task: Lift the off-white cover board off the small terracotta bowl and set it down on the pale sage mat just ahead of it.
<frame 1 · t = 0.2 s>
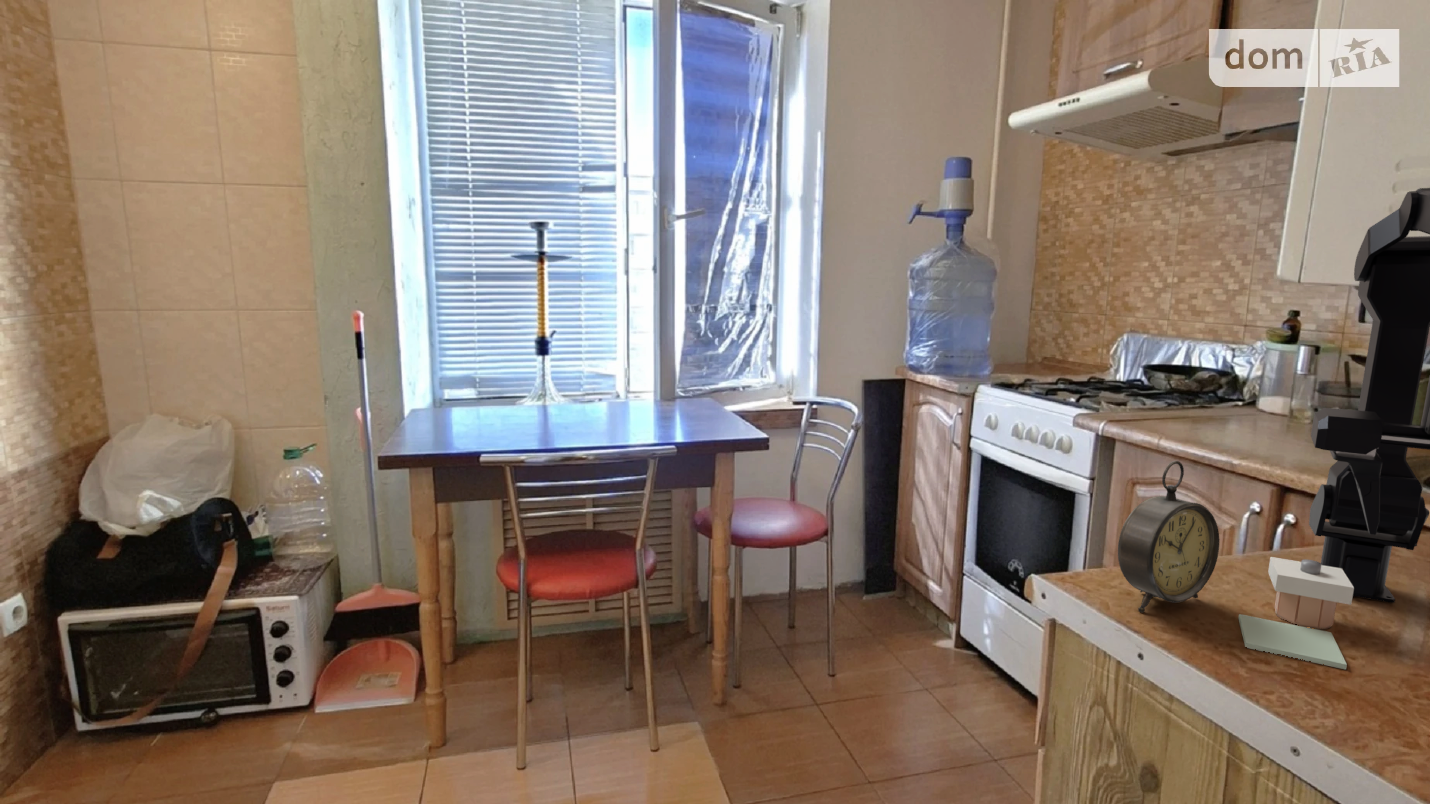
alarm clock: (1158, 603, 79), on the worktop
bowl: (1302, 618, 75), on the worktop
cover: (1307, 587, 74), point 3 cm above the worktop, touching bowl
mat: (1288, 642, 70), on the worktop
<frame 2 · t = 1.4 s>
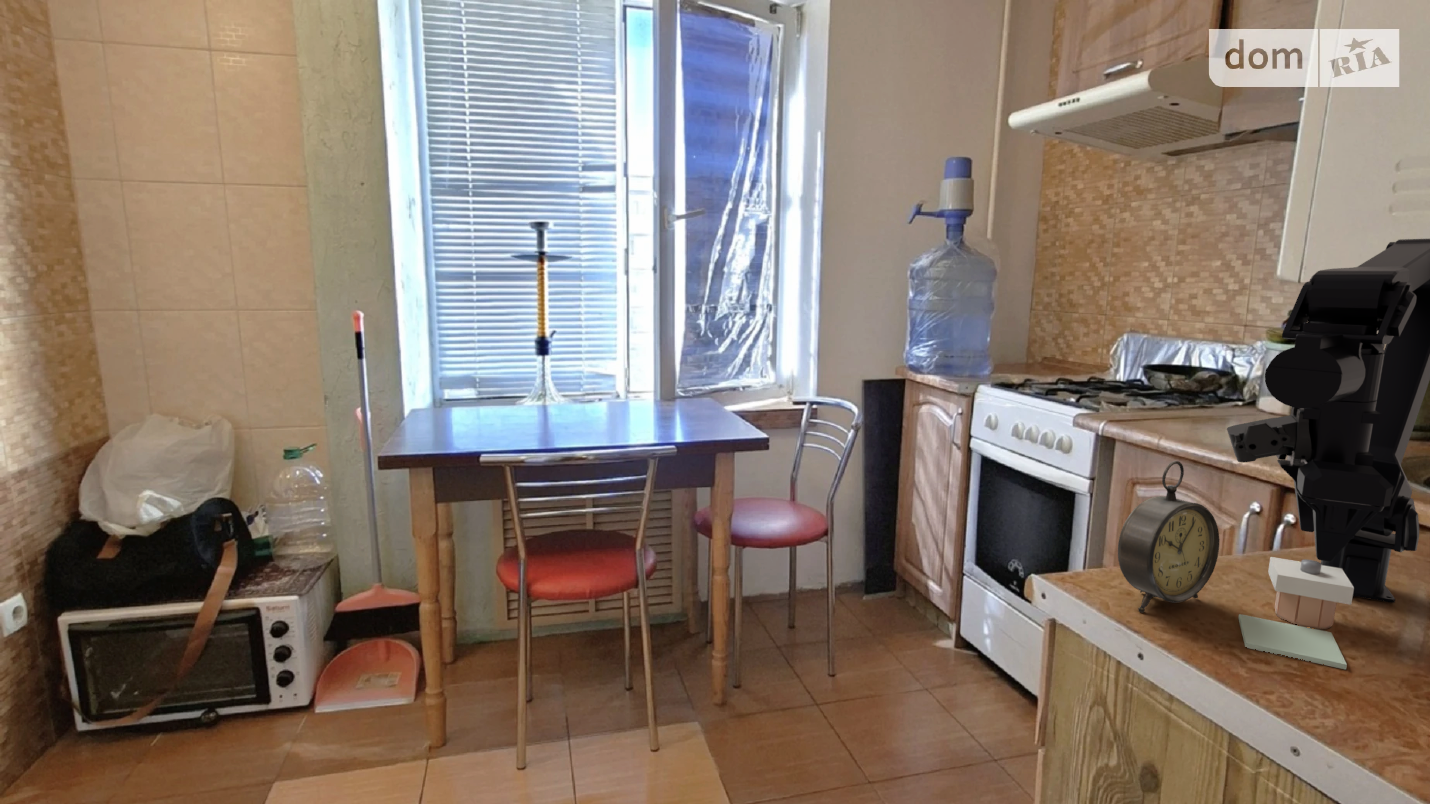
hand: (1314, 544, 73), 8 cm above the worktop, tool pointing down, fingers open, 9 cm apart
nothing on the worktop moved.
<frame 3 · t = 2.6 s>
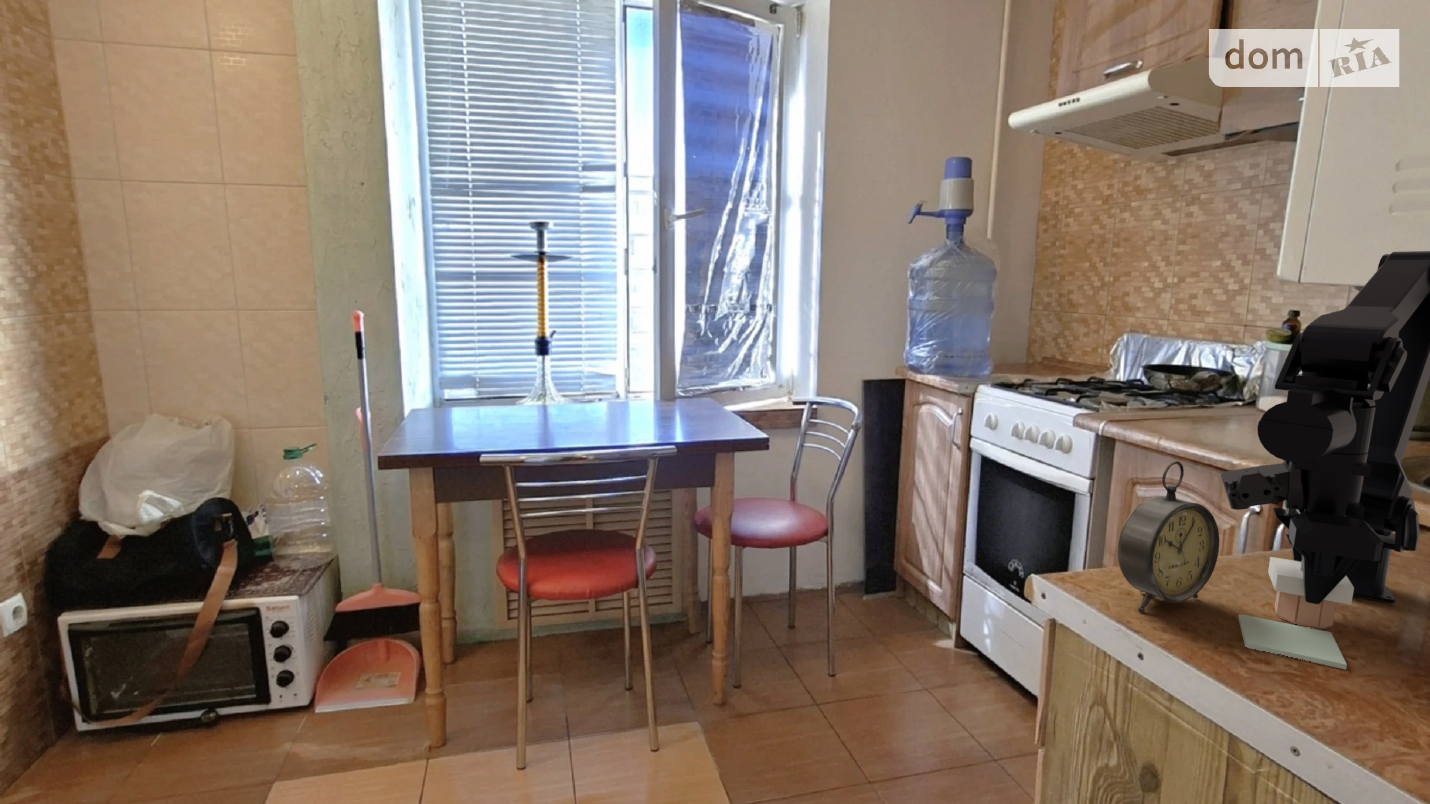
hand: (1306, 591, 74), 3 cm above the worktop, tool pointing down, fingers closed on cover, 5 cm apart
cover: (1307, 587, 74), point 4 cm above the worktop, touching bowl, gripper
everything else where it was.
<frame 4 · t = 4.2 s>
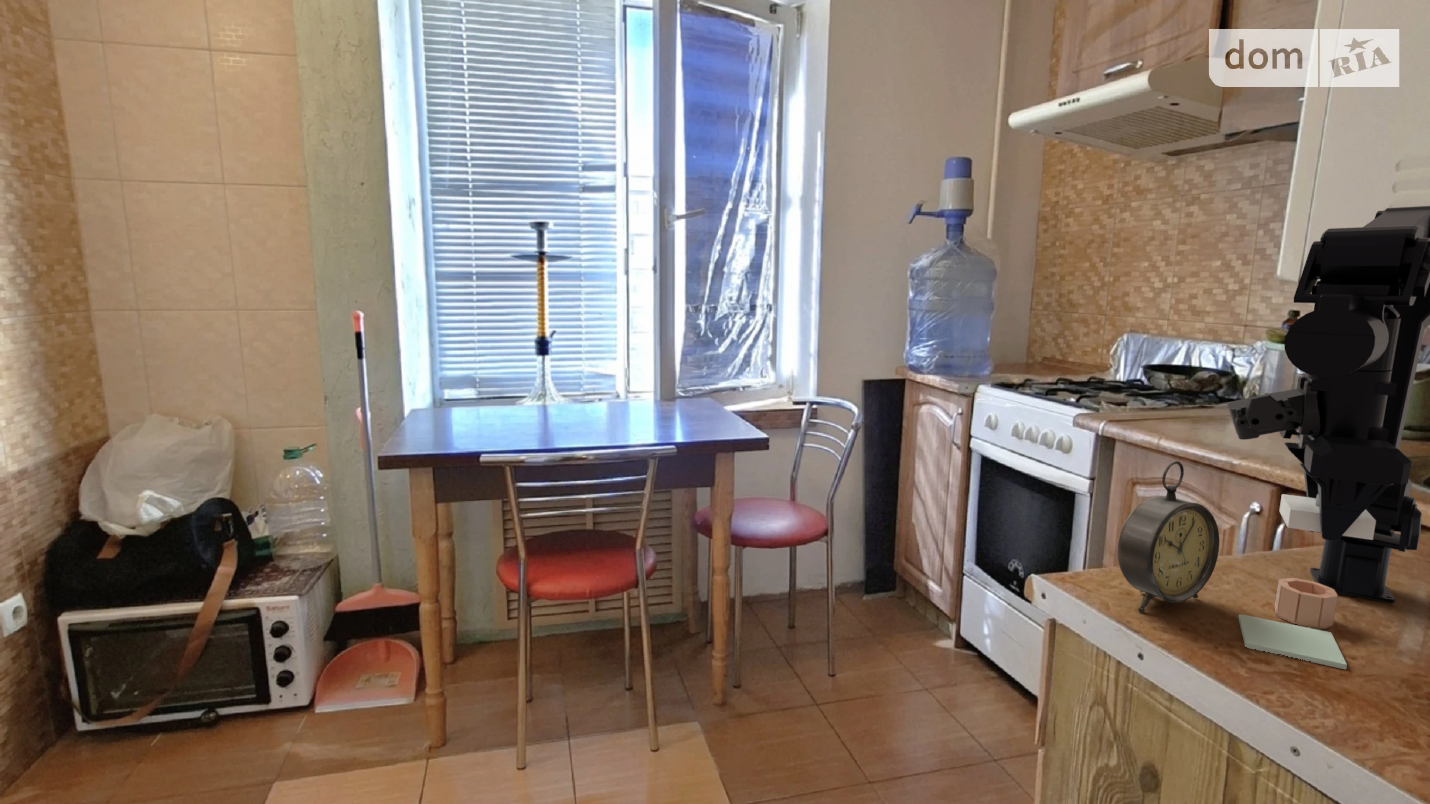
hand: (1323, 529, 67), 12 cm above the worktop, tool pointing down, fingers closed on cover, 5 cm apart
cover: (1323, 524, 67), point 12 cm above the worktop, touching gripper
everything else where it was.
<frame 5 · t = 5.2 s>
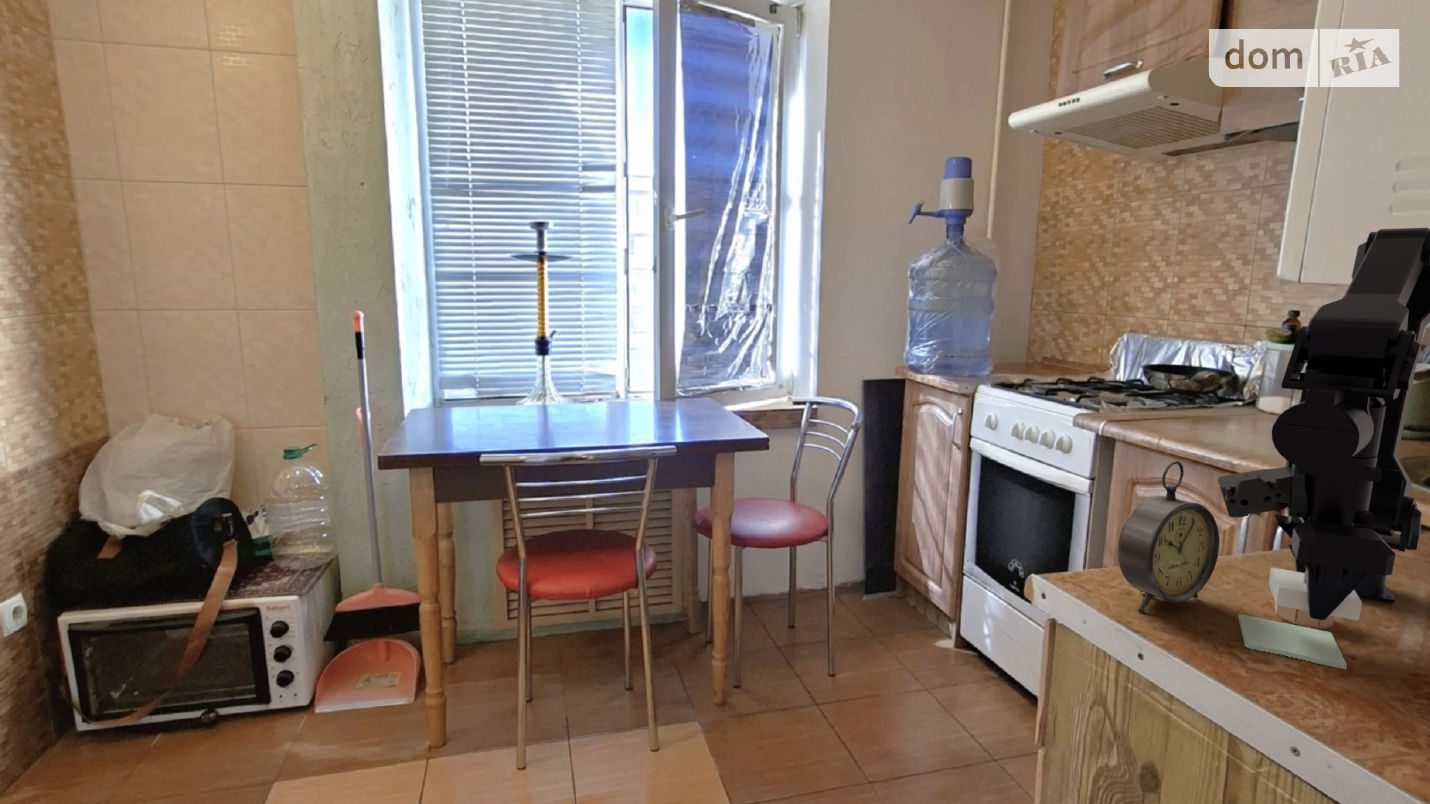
hand: (1311, 606, 69), 4 cm above the worktop, tool pointing down, fingers closed on cover, 5 cm apart
cover: (1311, 601, 69), point 5 cm above the worktop, touching gripper
everything else where it was.
when the fingers open (2 cm above the worktop, at t = 6.0 s): cover drops 2 cm, resting on mat.
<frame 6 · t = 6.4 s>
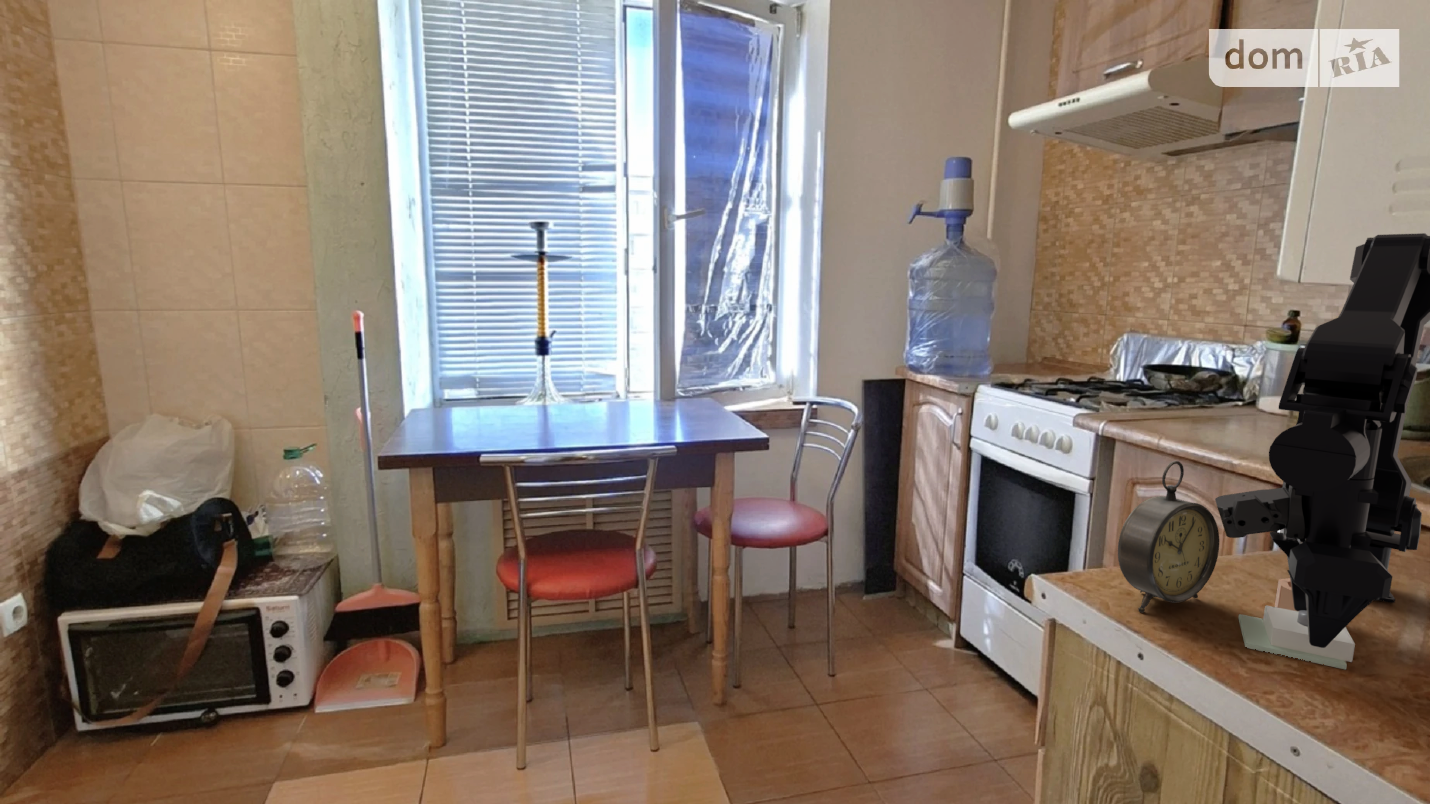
hand: (1308, 627, 69), 2 cm above the worktop, tool pointing down, fingers open, 8 cm apart
cover: (1304, 640, 69), resting on mat
everything else where it was.
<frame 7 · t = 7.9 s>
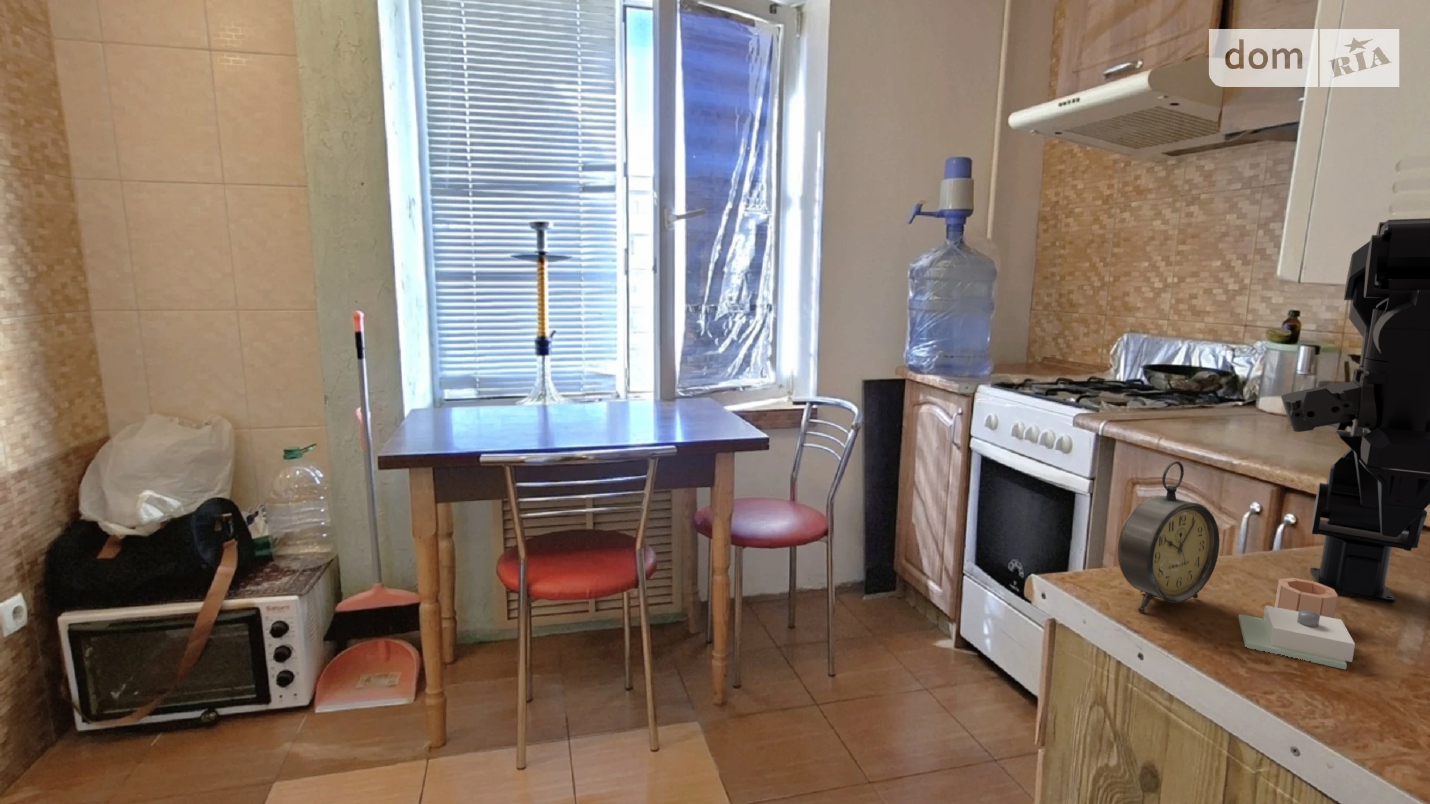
hand: (1378, 520, 68), 13 cm above the worktop, tool pointing down, fingers open, 9 cm apart
nothing on the worktop moved.
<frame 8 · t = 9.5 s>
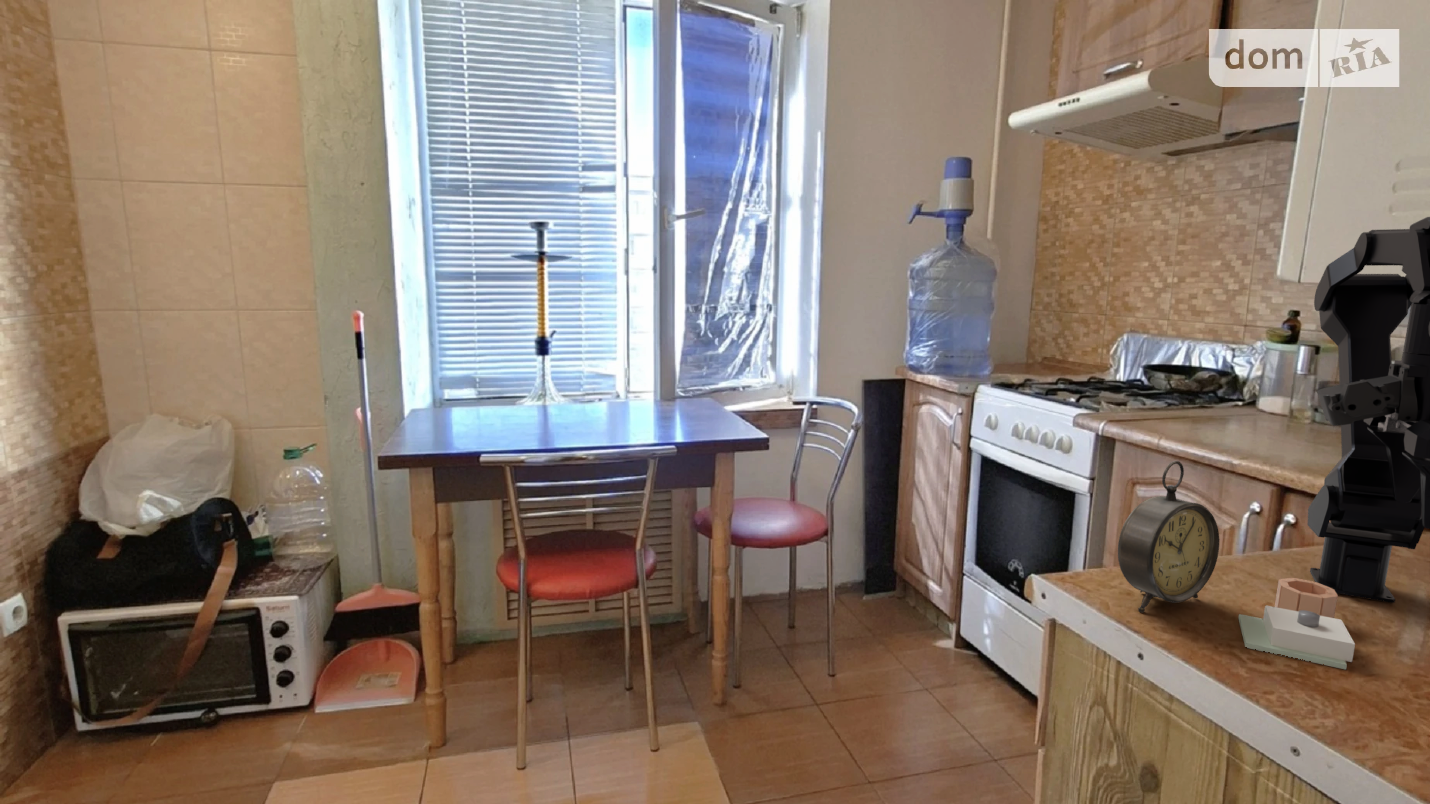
hand: (1415, 514, 68), 13 cm above the worktop, tool pointing down, fingers open, 9 cm apart
nothing on the worktop moved.
at the end: cover inside the target area on the mat (0.4 cm from its centre), point 0.5 cm above the mat's base; cover touching mat; the gripper is holding nothing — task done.
